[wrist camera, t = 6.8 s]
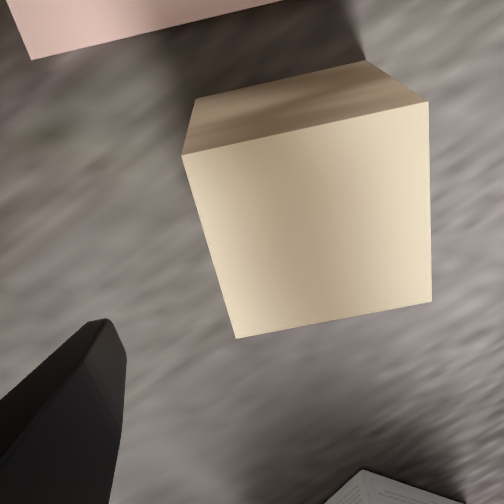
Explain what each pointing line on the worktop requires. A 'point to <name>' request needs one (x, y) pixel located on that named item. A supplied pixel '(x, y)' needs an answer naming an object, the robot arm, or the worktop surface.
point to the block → (314, 196)
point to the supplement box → (383, 492)
